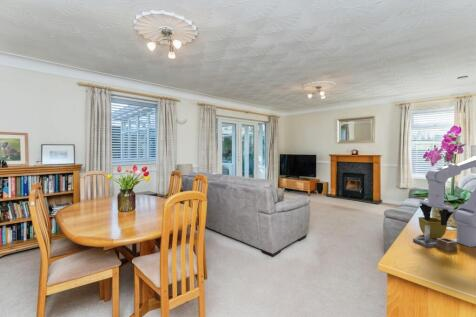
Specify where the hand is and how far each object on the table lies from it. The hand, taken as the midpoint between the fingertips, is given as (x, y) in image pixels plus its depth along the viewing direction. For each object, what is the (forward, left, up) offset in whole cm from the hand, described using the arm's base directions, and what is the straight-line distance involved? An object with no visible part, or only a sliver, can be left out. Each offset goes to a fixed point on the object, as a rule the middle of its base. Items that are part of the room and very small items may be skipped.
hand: (435, 222), depth 110 cm
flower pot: (-7, -7, -10) cm, 14 cm away
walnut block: (+1, +6, -10) cm, 12 cm away
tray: (+4, 0, -10) cm, 11 cm away
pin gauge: (+4, 0, -10) cm, 10 cm away
